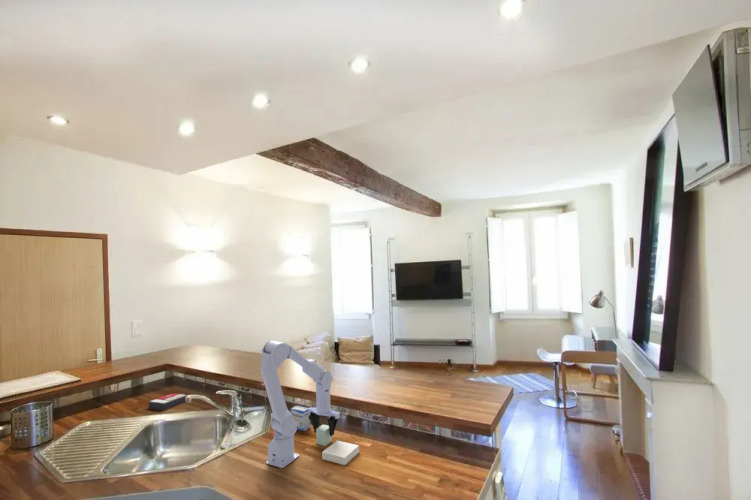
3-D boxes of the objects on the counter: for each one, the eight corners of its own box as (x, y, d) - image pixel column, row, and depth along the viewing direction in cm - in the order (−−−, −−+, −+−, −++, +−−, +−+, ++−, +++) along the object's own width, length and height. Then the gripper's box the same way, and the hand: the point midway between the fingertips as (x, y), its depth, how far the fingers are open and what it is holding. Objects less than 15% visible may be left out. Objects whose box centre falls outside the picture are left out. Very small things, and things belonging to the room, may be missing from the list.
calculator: (187, 394, 203) (163, 402, 189) (187, 402, 203) (163, 411, 189) (172, 392, 207) (148, 400, 193) (172, 400, 206) (147, 409, 192)
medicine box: (290, 428, 163) (290, 408, 164) (296, 424, 167) (296, 405, 168) (304, 431, 159) (303, 411, 160) (310, 427, 163) (310, 407, 164)
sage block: (325, 446, 146) (325, 430, 146) (316, 443, 148) (316, 428, 148) (331, 441, 150) (331, 426, 150) (323, 439, 152) (322, 424, 152)
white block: (344, 466, 131) (344, 457, 131) (322, 460, 136) (322, 452, 136) (359, 453, 140) (358, 445, 140) (337, 448, 145) (337, 440, 145)
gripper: (343, 398, 150) (344, 432, 149) (315, 394, 157) (315, 426, 156) (333, 404, 144) (334, 440, 143) (304, 399, 150) (305, 433, 150)
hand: (324, 433), depth 149 cm, fingers open, 7 cm apart
